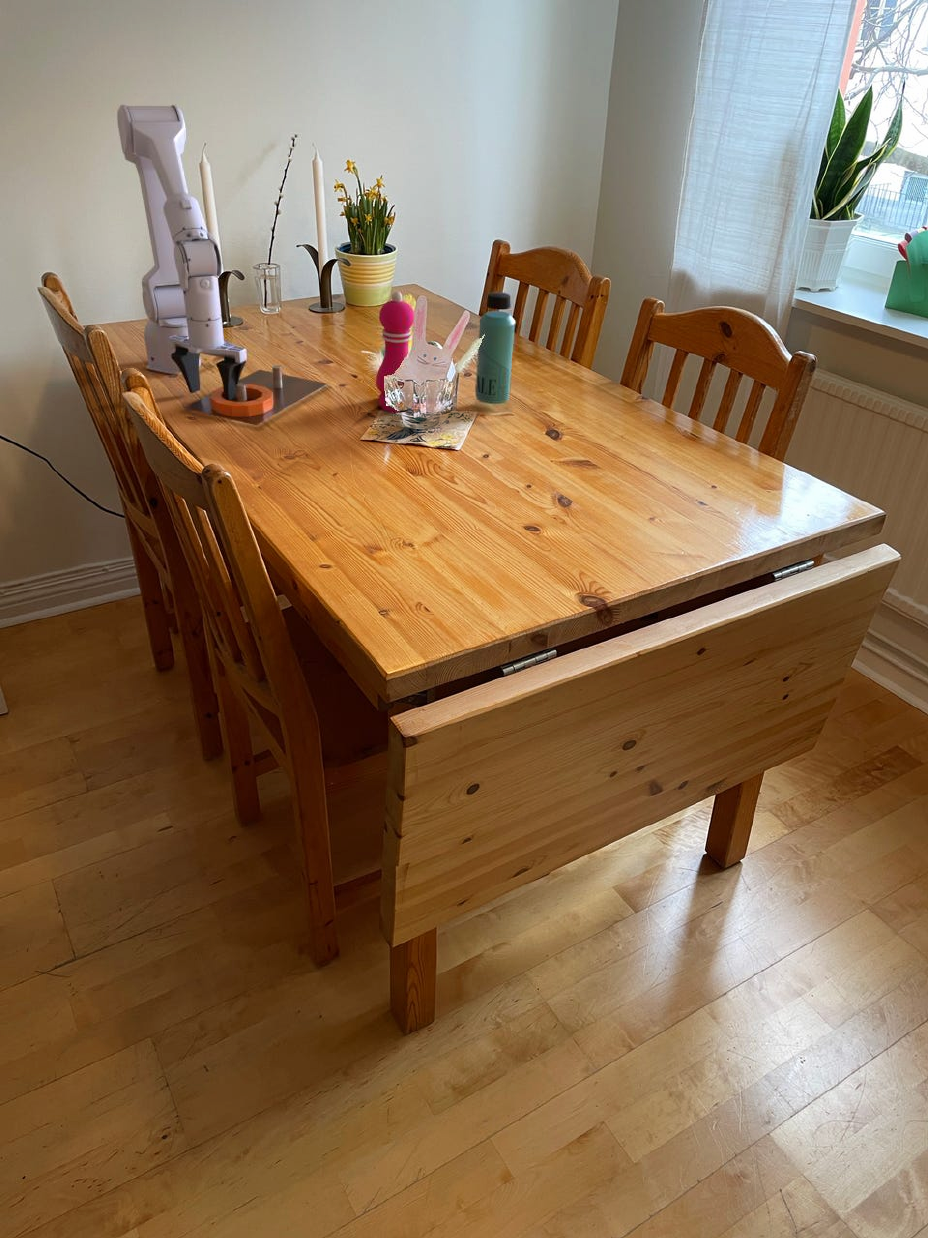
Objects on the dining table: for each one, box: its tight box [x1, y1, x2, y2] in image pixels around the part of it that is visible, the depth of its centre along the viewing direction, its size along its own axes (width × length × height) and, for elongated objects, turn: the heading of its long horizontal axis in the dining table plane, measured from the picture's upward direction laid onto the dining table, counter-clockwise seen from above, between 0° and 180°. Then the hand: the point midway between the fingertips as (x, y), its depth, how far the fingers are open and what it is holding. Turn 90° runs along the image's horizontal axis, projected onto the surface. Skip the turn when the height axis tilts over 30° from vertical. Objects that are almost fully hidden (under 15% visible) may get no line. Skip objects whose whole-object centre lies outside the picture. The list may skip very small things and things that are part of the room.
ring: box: [210, 384, 274, 417], centre depth 154 cm, size 10×10×2 cm
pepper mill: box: [375, 290, 415, 413], centre depth 155 cm, size 7×7×20 cm
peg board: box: [183, 364, 328, 426], centre depth 158 cm, size 15×23×4 cm, turn 157°
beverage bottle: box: [474, 291, 516, 405], centre depth 157 cm, size 6×7×20 cm
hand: (212, 395), depth 156 cm, fingers open, 7 cm apart
